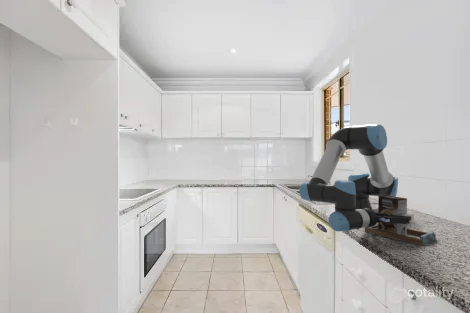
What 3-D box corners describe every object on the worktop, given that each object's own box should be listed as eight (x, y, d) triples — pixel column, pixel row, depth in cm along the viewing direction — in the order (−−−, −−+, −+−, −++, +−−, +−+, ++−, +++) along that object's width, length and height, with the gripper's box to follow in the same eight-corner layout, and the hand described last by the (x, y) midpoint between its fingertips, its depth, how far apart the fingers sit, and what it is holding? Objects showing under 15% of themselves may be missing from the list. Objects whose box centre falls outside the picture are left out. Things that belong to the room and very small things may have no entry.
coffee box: (377, 231, 115) (377, 195, 115) (387, 230, 117) (387, 194, 117) (397, 237, 106) (397, 198, 106) (407, 235, 109) (407, 197, 109)
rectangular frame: (380, 226, 123) (380, 220, 123) (435, 239, 104) (435, 231, 104) (364, 231, 115) (364, 224, 115) (421, 245, 97) (421, 237, 97)
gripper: (339, 220, 116) (371, 216, 125) (392, 236, 93) (427, 229, 102) (339, 204, 116) (371, 200, 125) (392, 215, 93) (427, 210, 102)
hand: (397, 213), depth 113 cm, fingers open, 13 cm apart
